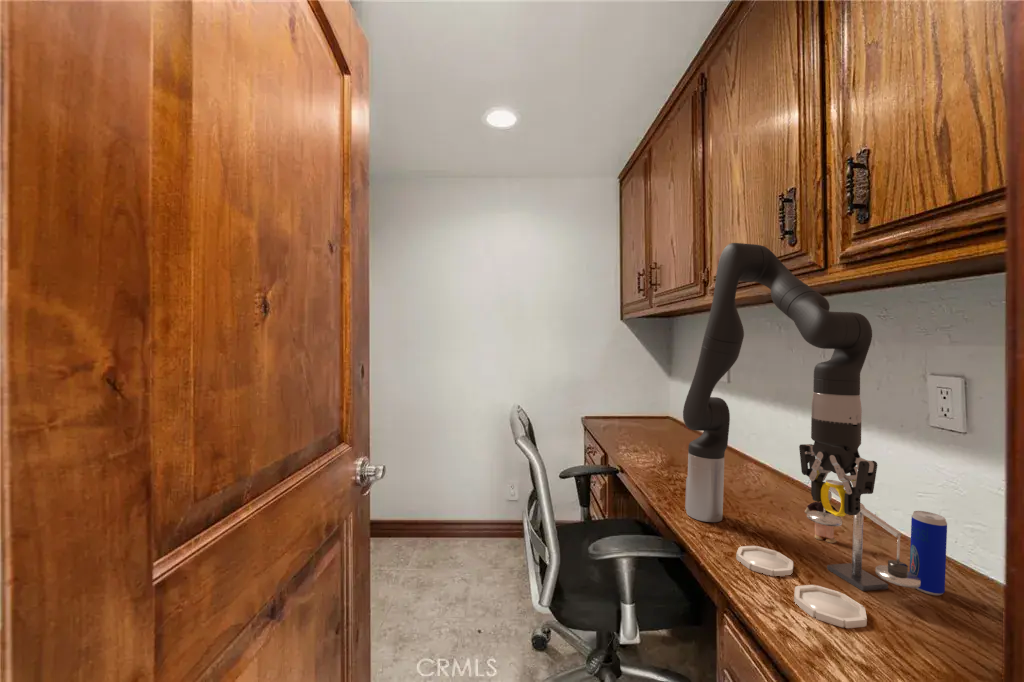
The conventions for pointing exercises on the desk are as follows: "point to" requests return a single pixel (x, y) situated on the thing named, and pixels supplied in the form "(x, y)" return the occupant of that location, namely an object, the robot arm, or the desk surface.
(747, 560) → the dish upper pan side
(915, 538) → the beverage can
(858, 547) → the balance
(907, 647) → the desk surface
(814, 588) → the dish lower pan side
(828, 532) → the grandmother figurine
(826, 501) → the watch
